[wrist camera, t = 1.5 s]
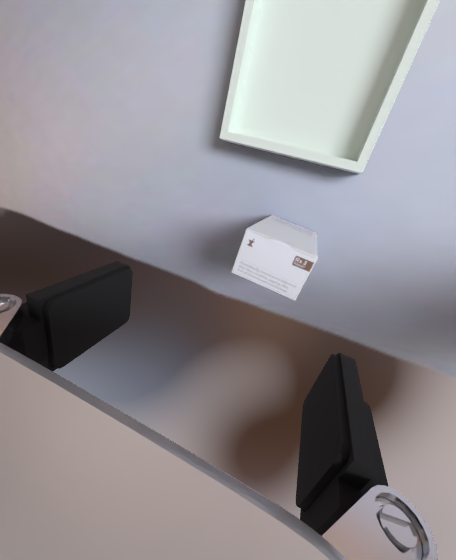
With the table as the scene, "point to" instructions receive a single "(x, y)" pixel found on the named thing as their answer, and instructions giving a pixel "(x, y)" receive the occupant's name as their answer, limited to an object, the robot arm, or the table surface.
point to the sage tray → (321, 75)
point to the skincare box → (277, 255)
